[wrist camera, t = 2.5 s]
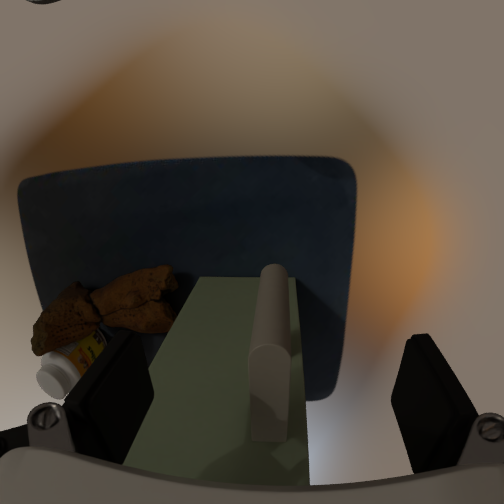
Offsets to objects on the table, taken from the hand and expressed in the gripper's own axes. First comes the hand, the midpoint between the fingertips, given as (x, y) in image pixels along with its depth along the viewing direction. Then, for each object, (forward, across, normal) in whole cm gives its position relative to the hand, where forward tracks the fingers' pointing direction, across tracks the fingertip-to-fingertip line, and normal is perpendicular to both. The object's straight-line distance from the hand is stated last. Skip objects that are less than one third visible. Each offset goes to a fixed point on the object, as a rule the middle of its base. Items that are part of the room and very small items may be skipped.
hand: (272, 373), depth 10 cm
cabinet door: (+20, +3, +3) cm, 21 cm away
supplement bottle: (+21, +24, +14) cm, 34 cm away
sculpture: (+21, +18, +7) cm, 28 cm away
